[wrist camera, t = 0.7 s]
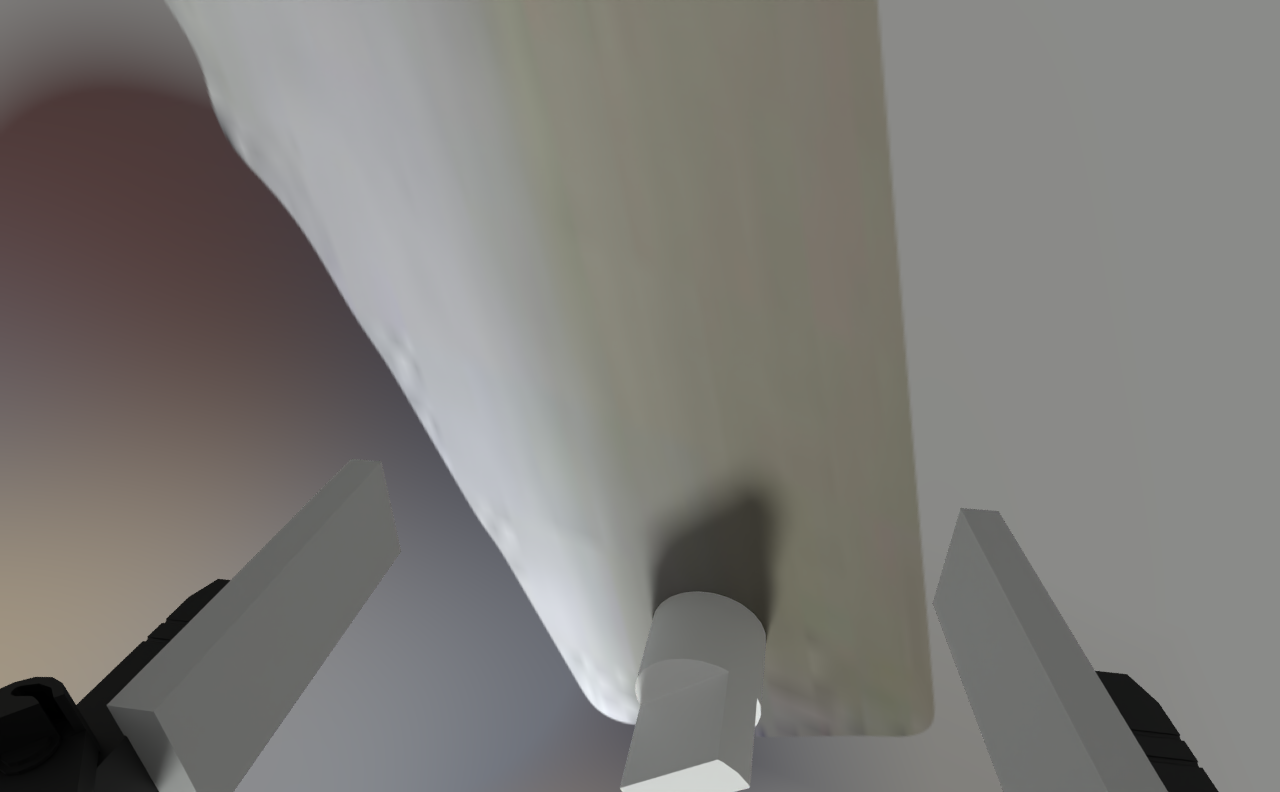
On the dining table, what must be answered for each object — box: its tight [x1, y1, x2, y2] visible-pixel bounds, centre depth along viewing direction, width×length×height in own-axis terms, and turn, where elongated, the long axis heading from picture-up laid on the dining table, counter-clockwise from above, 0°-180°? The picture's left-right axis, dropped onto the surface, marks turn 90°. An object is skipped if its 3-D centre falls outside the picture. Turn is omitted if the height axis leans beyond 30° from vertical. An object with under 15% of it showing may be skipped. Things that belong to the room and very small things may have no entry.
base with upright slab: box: [620, 591, 766, 792], centre depth 44 cm, size 9×9×12 cm
